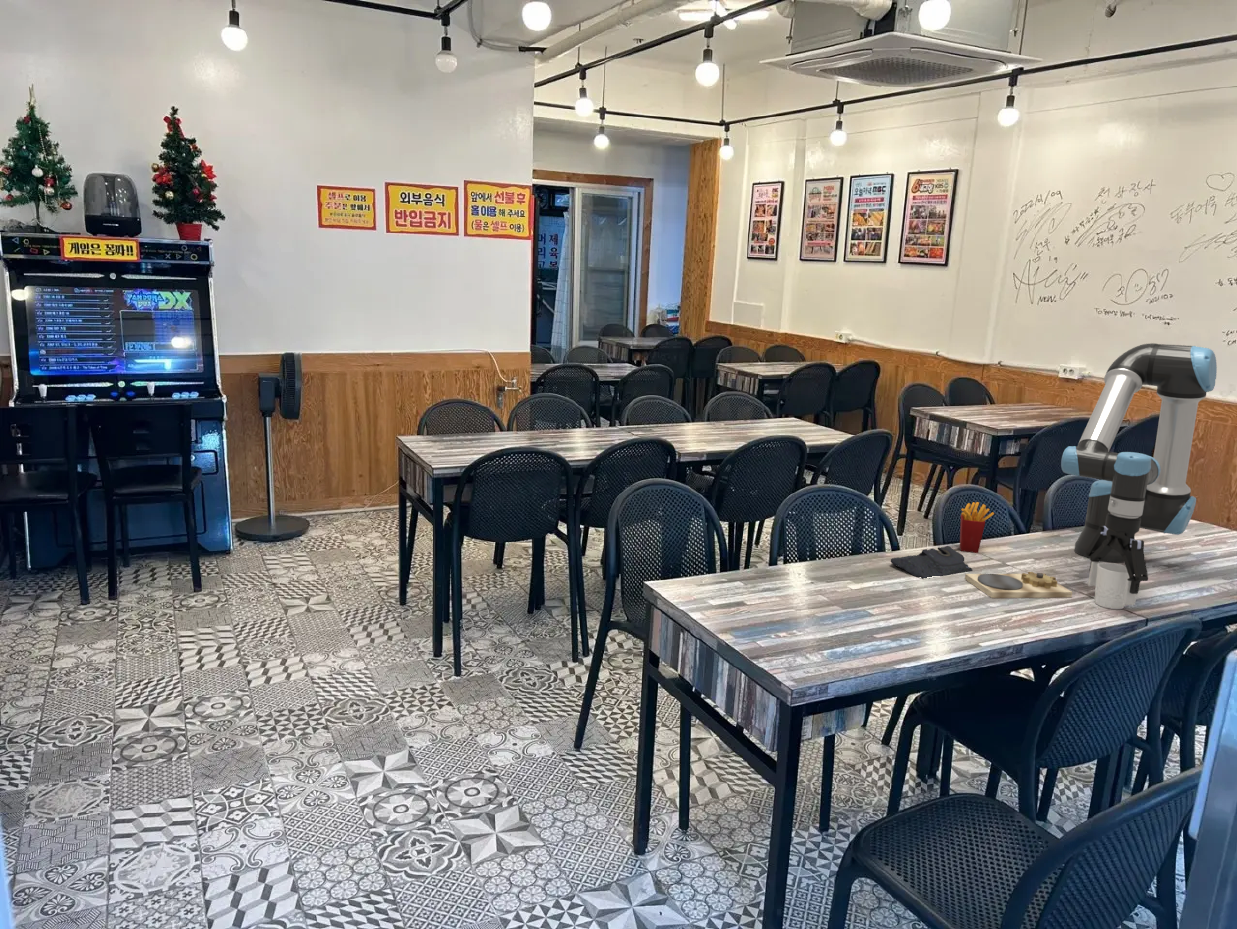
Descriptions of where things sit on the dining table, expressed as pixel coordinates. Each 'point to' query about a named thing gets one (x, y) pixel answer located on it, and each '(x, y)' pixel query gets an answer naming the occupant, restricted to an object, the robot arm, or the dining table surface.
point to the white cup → (1110, 585)
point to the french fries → (972, 527)
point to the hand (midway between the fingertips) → (1110, 595)
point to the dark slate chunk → (933, 563)
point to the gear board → (1018, 585)
